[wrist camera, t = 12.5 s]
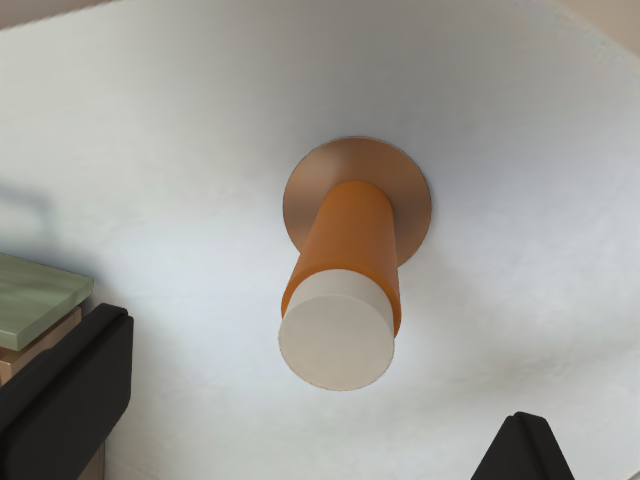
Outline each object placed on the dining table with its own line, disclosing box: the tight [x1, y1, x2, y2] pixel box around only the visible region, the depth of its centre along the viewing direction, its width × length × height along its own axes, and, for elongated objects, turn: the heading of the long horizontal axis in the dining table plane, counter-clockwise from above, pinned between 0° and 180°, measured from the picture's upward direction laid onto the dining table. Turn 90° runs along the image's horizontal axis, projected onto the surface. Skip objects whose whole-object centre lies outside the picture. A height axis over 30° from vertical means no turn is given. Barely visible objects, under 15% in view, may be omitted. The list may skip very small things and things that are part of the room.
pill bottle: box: [278, 180, 401, 391], centre depth 20 cm, size 4×4×13 cm
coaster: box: [283, 136, 431, 267], centre depth 26 cm, size 9×9×1 cm
